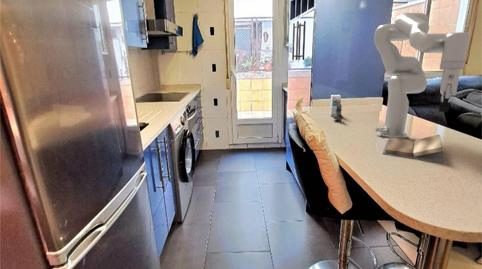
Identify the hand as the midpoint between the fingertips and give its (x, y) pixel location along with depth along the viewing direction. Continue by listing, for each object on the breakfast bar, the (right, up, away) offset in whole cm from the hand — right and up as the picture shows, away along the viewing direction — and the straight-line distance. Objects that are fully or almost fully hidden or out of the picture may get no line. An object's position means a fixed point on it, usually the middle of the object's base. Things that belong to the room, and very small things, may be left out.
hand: (443, 111), depth 115 cm
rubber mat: (-7, -17, +10) cm, 20 cm away
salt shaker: (-21, -1, +64) cm, 67 cm away
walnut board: (-11, -16, +12) cm, 23 cm away
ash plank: (-2, -15, +6) cm, 16 cm away
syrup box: (-19, +3, +79) cm, 81 cm away
